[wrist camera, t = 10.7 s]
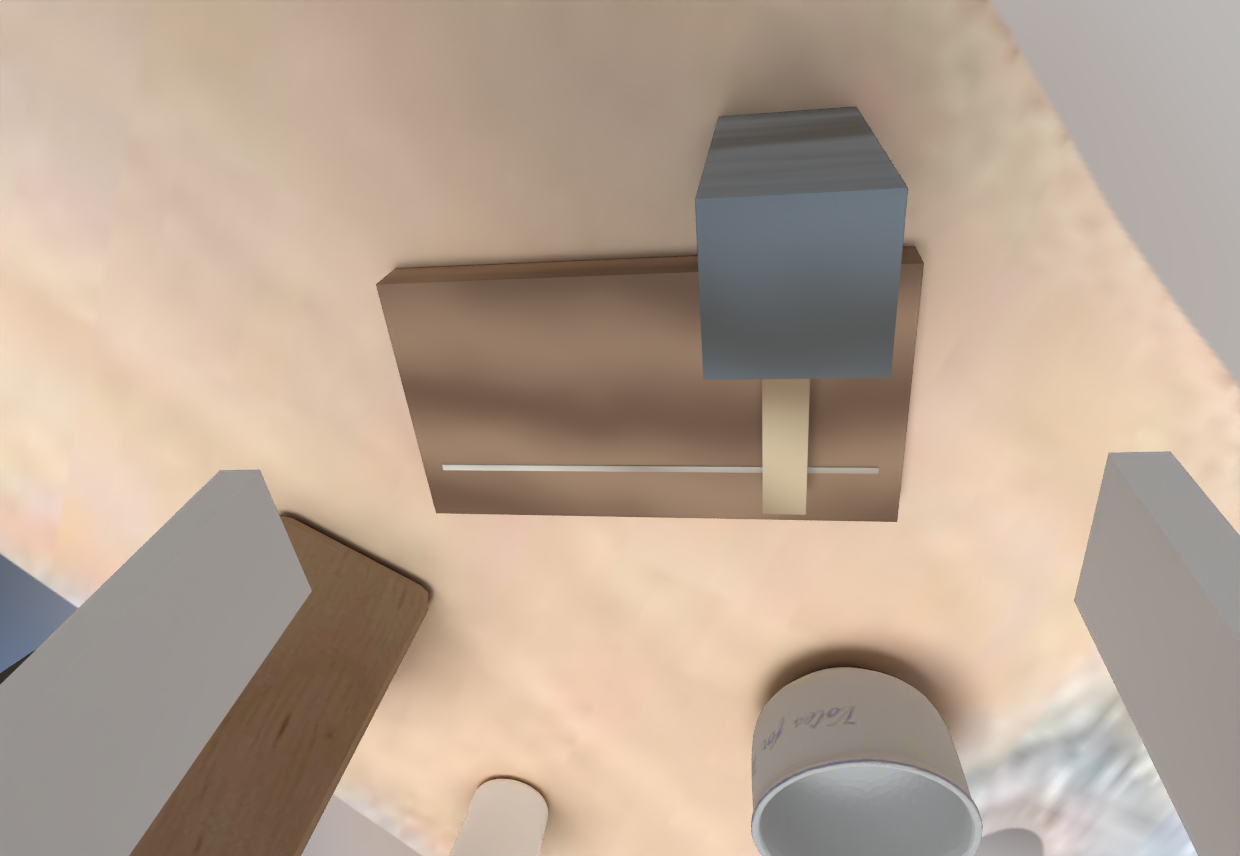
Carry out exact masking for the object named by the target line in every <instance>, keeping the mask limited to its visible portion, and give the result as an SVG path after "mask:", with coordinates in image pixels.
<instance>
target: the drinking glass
mask: <svg viewBox="0 0 1240 856" xmlns="http://www.w3.org/2000/svg"><path fill="white" fill-rule="evenodd" d="M547 819H548V807H547V804H546V801H545V800H544V798H543V797H542V795H541V794H540V793H539V792H538V791H536V790H535V789H534V788H532V787H531V786H529V785H527V784H525V783H522V782H520V781H516V780H512V779H494V780H490V781H487V782H485V783H483V784H482V785H481V786H479V787H478V788H477V790H476V791H475V793H474V795H473V797H472V800H471V803H470V806H469V808H468V811H467V814H466V817H465V819H464V822H463V824H462V826H461V829H460V831H459V833H458V836H457V838H456V840H455V842H454V845H453V847H452V849H451V851H450V854H449V856H540V851H541V845H542V840H543V836H544V832H545V828H546V824H547Z"/></svg>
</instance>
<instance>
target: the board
mask: <svg viewBox="0 0 1240 856" xmlns="http://www.w3.org/2000/svg"><path fill="white" fill-rule="evenodd" d="M923 267H924V263H923V261H922V259H921V257H920V255H919V253H918V251H917V249H916V247H903V249H902V260H901V271H900V282H899V293H898V304H897V315H896V326H895V338H894V349H893V360H892V371H891V378H836V379H810V397H809V428H808V460H807V491H806V515H793V514H763V462H762V379H757V380H703V363H702V341H701V319H700V297H699V275H698V256H681V257H658V258H634V259H611V260H587V261H564V262H540V263H517V264H493V265H470V266H446V267H423V268H399V269H394V270H393V271H392V272H390V273H389V274H388V275H387V276H386V277H384V278H383V279H382V280H381V281H380V282H378V283H377V284H376V286H377V290H378V294H379V297H380V301H381V305H382V309H383V313H384V316H385V320H386V324H387V328H388V332H389V335H390V339H391V343H392V347H393V351H394V354H395V358H396V362H397V366H398V370H399V373H400V377H401V381H402V385H403V389H404V392H405V396H406V400H407V404H408V408H409V411H410V415H411V419H412V423H413V427H414V430H415V434H416V438H417V442H418V446H419V449H420V453H421V457H422V461H423V465H424V468H425V472H426V476H427V480H428V484H429V487H430V491H431V495H432V499H433V503H434V506H435V510H436V513H456V514H509V515H562V516H615V517H668V518H721V519H774V520H827V521H880V522H897V518H898V508H899V498H900V489H901V479H902V469H903V460H904V450H905V441H906V431H907V421H908V412H909V402H910V392H911V383H912V373H913V363H914V354H915V344H916V335H917V325H918V315H919V306H920V296H921V286H922V277H923Z"/></svg>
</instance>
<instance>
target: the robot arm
mask: <svg viewBox="0 0 1240 856" xmlns="http://www.w3.org/2000/svg"><path fill="white" fill-rule="evenodd" d="M311 592H312V590H311V588H310V585H309V583H308V581H307V578H306V576H305V574H304V571H303V569H302V567H301V564H300V562H299V560H298V557H297V555H296V553H295V550H294V548H293V546H292V543H291V541H290V539H289V537H288V534H287V532H286V530H285V527H284V525H283V523H282V520H281V518H280V516H279V513H278V511H277V509H276V506H275V504H274V502H273V499H272V497H271V495H270V492H269V490H268V488H267V485H266V483H265V481H264V478H263V476H262V474H261V471H260V470H220V471H219V472H218V473H217V474H216V475H215V476H214V477H213V478H212V479H211V480H210V481H209V482H208V483H207V484H206V485H205V486H204V487H202V488H201V489H200V490H199V491H198V492H197V493H196V494H195V495H194V496H193V497H192V498H191V499H190V500H189V501H188V502H187V503H186V504H185V505H184V506H183V507H182V508H181V509H180V510H179V511H178V512H177V513H176V514H175V515H174V516H173V517H172V518H171V519H170V520H169V521H168V522H167V523H166V524H165V525H164V526H162V527H161V528H160V529H159V530H158V531H157V532H156V533H155V534H154V535H153V536H152V537H151V538H150V539H149V540H148V541H147V542H146V543H145V544H144V545H143V546H142V547H141V548H140V549H139V550H138V551H137V552H136V553H135V554H134V555H133V556H132V557H131V558H130V559H129V560H128V561H127V562H126V563H125V564H124V565H122V566H121V567H120V568H119V569H118V570H117V571H116V572H115V573H114V574H113V575H112V576H111V577H110V578H109V579H108V580H107V581H106V582H105V583H104V584H103V585H102V586H101V587H100V588H99V589H98V590H97V591H96V592H95V593H94V594H93V595H92V596H91V597H90V598H89V599H88V600H87V601H86V602H85V603H84V604H82V605H81V606H80V607H79V608H78V609H77V610H76V611H75V612H74V613H73V614H72V615H71V616H70V617H69V618H68V619H67V620H66V621H65V622H64V623H63V624H62V625H61V626H60V627H59V628H58V629H57V630H56V631H55V632H54V633H53V634H52V635H51V636H50V637H49V638H48V639H47V640H46V641H45V642H44V643H42V645H41V646H39V647H38V648H37V649H36V650H34V651H33V652H31V653H30V654H28V655H27V656H25V657H24V658H22V659H21V660H20V661H18V662H16V663H15V664H14V665H12V666H11V667H9V668H8V669H6V670H5V671H3V672H2V673H0V856H129V855H130V854H131V852H132V851H133V849H134V848H135V846H136V845H137V844H138V842H139V841H140V839H141V838H142V836H143V835H144V833H145V832H146V831H147V829H148V828H149V826H150V825H151V823H152V822H153V820H154V819H155V818H156V816H157V815H158V813H159V812H160V810H161V809H162V807H163V806H164V804H165V803H166V802H167V800H168V799H169V797H170V796H171V794H172V793H173V791H174V790H175V789H176V787H177V786H178V784H179V783H180V781H181V780H182V778H183V777H184V776H185V774H186V773H187V771H188V770H189V768H190V767H191V765H192V764H193V762H194V761H195V760H196V758H197V757H198V755H199V754H200V752H201V751H202V749H203V748H204V747H205V745H206V744H207V742H208V741H209V739H210V738H211V736H212V735H213V734H214V732H215V731H216V729H217V728H218V726H219V725H220V723H221V722H222V720H223V719H224V718H225V716H226V715H227V713H228V712H229V710H230V709H231V707H232V706H233V705H234V703H235V702H236V700H237V699H238V697H239V696H240V694H241V693H242V692H243V690H244V689H245V687H246V686H247V684H248V683H249V681H250V680H251V678H252V677H253V676H254V674H255V673H256V671H257V670H258V668H259V667H260V665H261V664H262V663H263V661H264V660H265V658H266V657H267V655H268V654H269V652H270V651H271V650H272V648H273V647H274V645H275V644H276V642H277V641H278V639H279V638H280V636H281V635H282V634H283V632H284V631H285V629H286V628H287V626H288V625H289V623H290V622H291V621H292V619H293V618H294V616H295V615H296V613H297V612H298V610H299V609H300V608H301V606H302V605H303V603H304V602H305V600H306V599H307V597H308V596H309V594H310V593H311ZM1074 602H1075V604H1076V606H1077V608H1078V610H1079V612H1080V614H1081V616H1082V618H1083V620H1084V622H1085V624H1086V626H1087V628H1088V630H1089V632H1090V634H1091V637H1092V639H1093V641H1094V643H1095V645H1096V647H1097V649H1098V651H1099V653H1100V655H1101V657H1102V659H1103V661H1104V663H1105V665H1106V667H1107V669H1108V671H1109V673H1110V676H1111V678H1112V680H1113V682H1114V684H1115V686H1116V688H1117V690H1118V692H1119V694H1120V696H1121V698H1122V700H1123V702H1124V704H1125V706H1126V708H1127V710H1128V712H1129V715H1130V717H1131V719H1132V721H1133V723H1134V725H1135V727H1136V729H1137V731H1138V733H1139V735H1140V737H1141V739H1142V741H1143V743H1144V745H1145V747H1146V749H1147V751H1148V754H1149V756H1150V758H1151V760H1152V762H1153V764H1154V766H1155V768H1156V770H1157V772H1158V774H1159V776H1160V778H1161V780H1162V782H1163V784H1164V786H1165V788H1166V790H1167V793H1168V795H1169V797H1170V799H1171V801H1172V803H1173V805H1174V807H1175V809H1176V811H1177V813H1178V815H1179V817H1180V819H1181V821H1182V823H1183V825H1184V827H1185V829H1186V832H1187V834H1188V836H1189V838H1190V840H1191V842H1192V844H1193V846H1194V848H1195V850H1196V852H1197V854H1198V856H1240V535H1239V534H1238V533H1237V532H1236V531H1235V529H1234V528H1233V527H1232V526H1231V525H1230V523H1229V522H1228V521H1227V520H1226V518H1225V517H1224V516H1223V515H1222V514H1221V512H1220V511H1219V510H1218V509H1217V508H1216V506H1215V505H1214V504H1213V503H1212V501H1211V500H1210V499H1209V498H1208V497H1207V495H1206V494H1205V493H1204V492H1203V491H1202V489H1201V488H1200V487H1199V486H1198V484H1197V483H1196V482H1195V481H1194V480H1193V478H1192V477H1191V476H1190V475H1189V473H1188V472H1187V471H1186V470H1185V469H1184V467H1183V466H1182V465H1181V464H1180V463H1179V461H1178V460H1177V459H1176V458H1175V456H1174V455H1173V454H1172V453H1171V452H1125V453H1109V454H1108V458H1107V462H1106V467H1105V471H1104V475H1103V479H1102V484H1101V488H1100V492H1099V496H1098V501H1097V505H1096V509H1095V514H1094V518H1093V522H1092V526H1091V531H1090V535H1089V539H1088V543H1087V548H1086V552H1085V556H1084V561H1083V565H1082V569H1081V573H1080V578H1079V582H1078V586H1077V590H1076V595H1075V599H1074Z"/></svg>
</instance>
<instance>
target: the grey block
mask: <svg viewBox="0 0 1240 856" xmlns="http://www.w3.org/2000/svg"><path fill="white" fill-rule="evenodd" d="M907 193H908V187H907V186H906V184H905V182H904V181H903V179H902V178H901V176H900V175H899V173H898V171H897V170H896V168H895V167H894V165H893V164H892V162H891V160H890V159H889V157H888V156H887V154H886V153H885V151H884V149H883V148H882V146H881V145H880V143H879V141H878V140H877V138H876V137H875V135H874V134H873V132H872V130H871V129H870V127H869V126H868V124H867V123H866V121H865V119H864V118H863V116H862V115H861V113H860V112H859V110H858V108H857V107H845V108H831V109H817V110H804V111H790V112H777V113H763V114H750V115H736V116H723V117H719V118H718V121H717V125H716V128H715V132H714V135H713V139H712V142H711V146H710V149H709V153H708V156H707V160H706V163H705V167H704V170H703V174H702V177H701V181H700V184H699V188H698V191H697V195H696V198H695V208H696V231H697V253H698V275H699V297H700V319H701V341H702V363H703V380H757V379H762V462H763V514H793V515H806V491H807V460H808V428H809V397H810V379H836V378H891V371H892V360H893V349H894V338H895V326H896V315H897V304H898V293H899V282H900V271H901V260H902V249H903V237H904V226H905V215H906V204H907Z"/></svg>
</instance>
